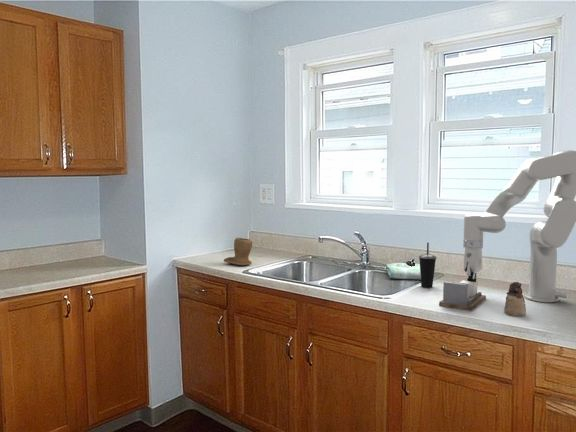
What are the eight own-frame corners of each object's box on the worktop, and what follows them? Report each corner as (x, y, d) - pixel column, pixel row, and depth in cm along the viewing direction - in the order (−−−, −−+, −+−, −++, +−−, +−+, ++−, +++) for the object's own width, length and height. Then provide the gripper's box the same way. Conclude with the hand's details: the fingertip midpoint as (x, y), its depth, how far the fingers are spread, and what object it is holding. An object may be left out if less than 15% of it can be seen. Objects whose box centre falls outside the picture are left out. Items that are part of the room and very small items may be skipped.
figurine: (519, 310, 181) (520, 279, 179) (529, 316, 174) (531, 284, 172) (500, 311, 181) (501, 279, 179) (510, 317, 173) (511, 284, 172)
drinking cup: (433, 289, 212) (434, 244, 210) (415, 287, 216) (416, 243, 214) (437, 285, 219) (438, 242, 217) (421, 283, 223) (422, 240, 221)
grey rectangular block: (469, 304, 184) (469, 284, 183) (466, 306, 182) (467, 285, 181) (445, 300, 189) (446, 280, 188) (443, 302, 187) (443, 282, 186)
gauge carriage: (477, 294, 197) (477, 282, 197) (469, 299, 189) (470, 287, 189) (455, 291, 202) (456, 279, 202) (447, 296, 194) (448, 284, 194)
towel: (421, 271, 250) (421, 261, 250) (428, 281, 229) (429, 270, 229) (385, 271, 252) (385, 261, 252) (389, 280, 231) (389, 270, 231)
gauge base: (485, 299, 197) (485, 292, 196) (470, 311, 181) (470, 304, 180) (456, 294, 204) (456, 288, 204) (439, 305, 188) (439, 298, 188)
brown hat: (257, 264, 269) (256, 237, 268) (241, 267, 261) (240, 240, 259) (238, 261, 280) (238, 235, 278) (223, 264, 271) (222, 237, 269)
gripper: (476, 247, 191) (475, 293, 193) (487, 242, 202) (486, 285, 204) (457, 245, 195) (456, 290, 197) (469, 240, 207) (468, 283, 209)
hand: (471, 287), depth 201 cm, fingers closed
